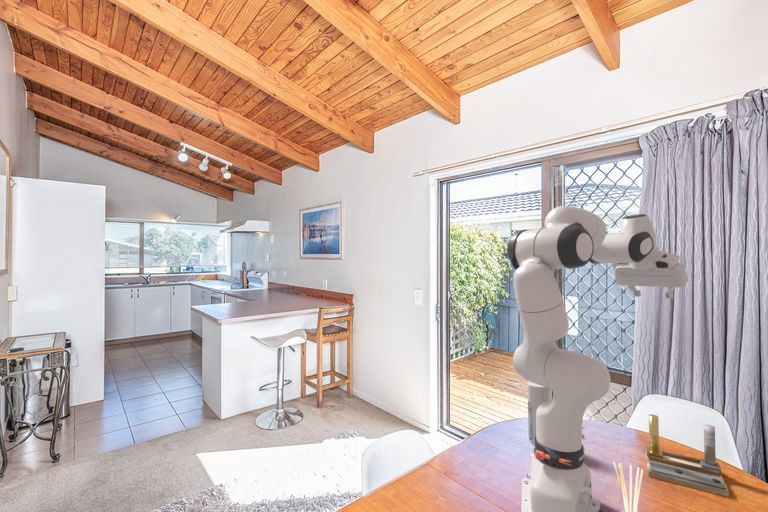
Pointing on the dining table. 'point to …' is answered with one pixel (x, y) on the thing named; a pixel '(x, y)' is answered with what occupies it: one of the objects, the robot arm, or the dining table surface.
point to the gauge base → (691, 468)
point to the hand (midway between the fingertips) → (653, 296)
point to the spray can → (535, 406)
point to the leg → (654, 438)
